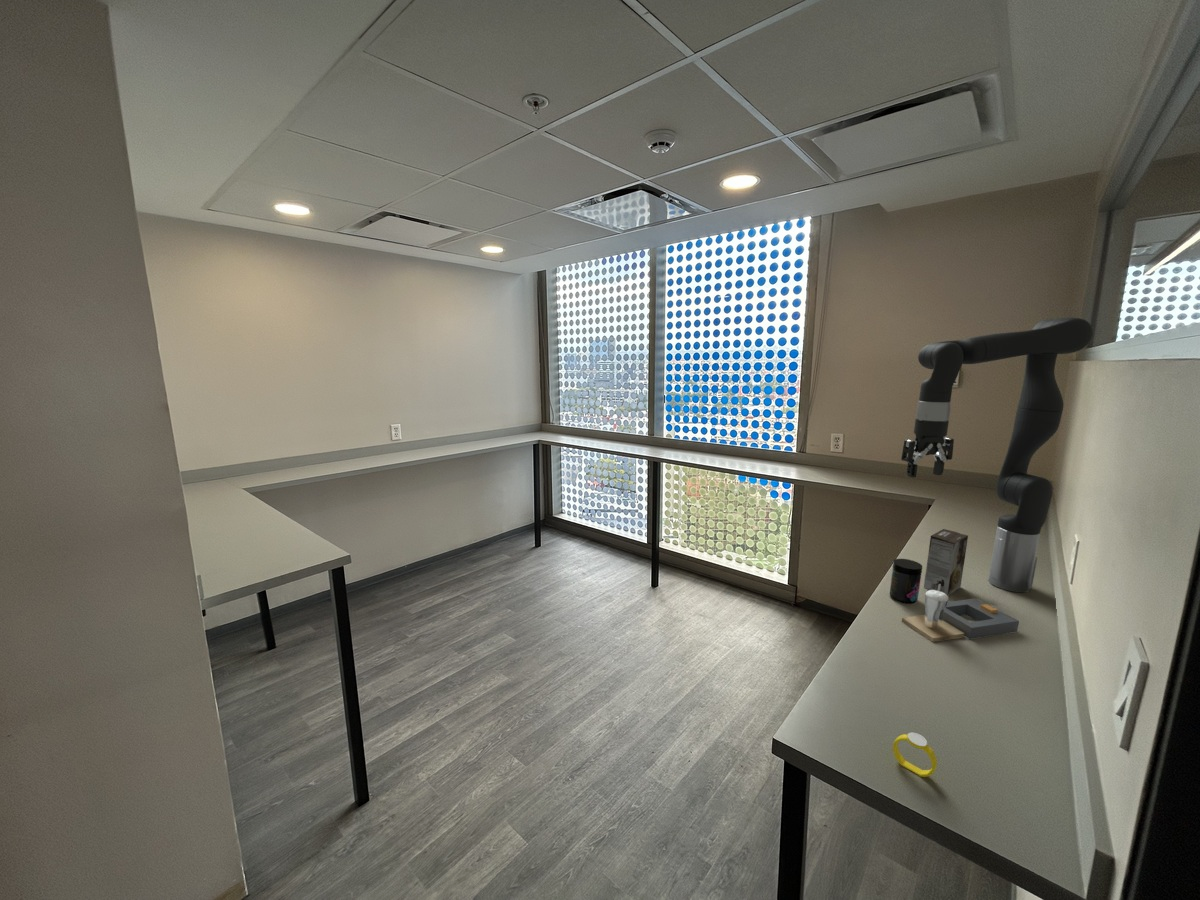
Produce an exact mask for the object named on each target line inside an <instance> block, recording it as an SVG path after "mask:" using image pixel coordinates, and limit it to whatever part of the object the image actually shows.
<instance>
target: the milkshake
mask: <svg viewBox="0 0 1200 900" xmlns="http://www.w3.org/2000/svg"><path fill="white" fill-rule="evenodd" d="M940 587H941V584H939V585H938V590H937V591H936V590H929V589H928V590H927V591H926V592H925V595H924V596H925V598H924V599H925V600H924V601H925V606H924V608H925V609H924V615H925V625H926V626H927V627H929V628H931V629H936V630H937V629H940V627H941V623H942V619H943V615H944V611H945V608H946V605H947V602H949V595H948V596H947V595H946V594H945V593H943V592H940Z"/></svg>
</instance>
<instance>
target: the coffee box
mask: <svg viewBox="0 0 1200 900" xmlns="http://www.w3.org/2000/svg"><path fill="white" fill-rule="evenodd" d="M968 538H969V535H968V534H963V533H960V532H957V531H953V530H951V529H946V528H942V529H941V530H939V531H937V532H935V533H934V534H932V535H930V539H929V546H928V555H927V561H926V569H925V575H924V582H923V588H924V589H927V590H928V591H929V590H936V591H937V590H938V585H939V584H941V587H940V592H943V593H945V594H946V595H947V596H948V597H949V596H950V595H952V594H953V593H954V592H956V591H957V590H958V589H960V588H961V587H962V580H963V574H964V573H963V572H964V567H965V566H964V565H965V559H966V554H967V553H966V551H967V547H968V540H969V539H968Z"/></svg>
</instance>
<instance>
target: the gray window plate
mask: <svg viewBox="0 0 1200 900" xmlns="http://www.w3.org/2000/svg"><path fill="white" fill-rule="evenodd" d="M962 616H967V617H969V618H970V619H972V620H974V621H969V620H968V619H966V618H964V617H962ZM942 620H943V621H945V622H947V623H948V624H950V625H952V626H953V627H955V628H957V629H958V630H960V631H962V632H963V633H965V635H964V638H967V639H969V640H975V639H980V638H986V637H992V636H999V635H1006V634H1011V633H1013V634H1014V633H1018V629H1019V624H1020V623H1019V622H1020V620H1018V619H1016V618H1015V617H1013V616H1011V615H1009V614H1008V613H1005V612H1003V611H1001V610H999V609H997V608H995V607H994V606H992V605H990V604H988V603H985V602H984V601H982V600H980V599H978V598H969V599H962V600H961V599H960V600H954V601H948V602H947V605H946V608H945V611H944V615H943V619H942Z"/></svg>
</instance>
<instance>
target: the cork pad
mask: <svg viewBox="0 0 1200 900" xmlns="http://www.w3.org/2000/svg"><path fill="white" fill-rule="evenodd" d="M901 622H902V623H903V624H904V625H907V626H908V627H909V628H911V629H912V630H914V631H916V632H917V633H918V634H920V635H921V636H923V637H924V638H926V639H927V640H929V641H931V642H932V643H934V642H935V643H936V642H941V641H947V640H954V639H961V638H965V636H964V635H965V633H963V632H962V631H960V630H958V629H957V628H955V627H953V626H952V625H950V624H948V623H947V622H945V621H943V620H942V623H941V627H940V629H937V630H936V629H931V628H929V627H927V626H926V625H925V614H920V615H919V614H918V615H913V616H904V617H902V618H901Z"/></svg>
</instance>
